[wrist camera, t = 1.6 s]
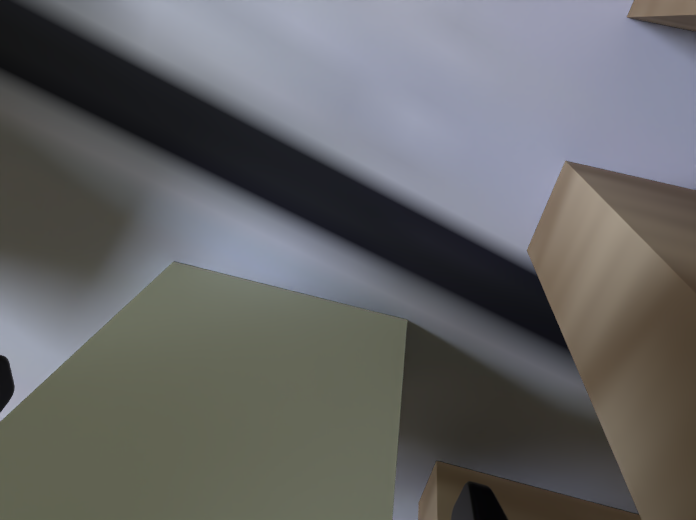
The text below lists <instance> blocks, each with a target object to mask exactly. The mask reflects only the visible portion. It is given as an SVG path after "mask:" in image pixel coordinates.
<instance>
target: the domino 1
mask: <svg viewBox="0 0 696 520" xmlns="http://www.w3.org/2000/svg"><path fill="white" fill-rule="evenodd" d="M406 332H407V320H406V319H402V318H398V317H394V316H390V315H386V314H382V313H378V312H374V311H370V310H366V309H362V308H358V307H354V306H350V305H346V304H342V303H338V302H334V301H330V300H326V299H322V298H318V297H314V296H310V295H306V294H302V293H298V292H294V291H290V290H286V289H282V288H278V287H273V286H269V285H265V284H261V283H257V282H253V281H249V280H245V279H241V278H237V277H233V276H229V275H225V274H221V273H217V272H213V271H209V270H205V269H201V268H197V267H193V266H189V265H185V264H181V263H177V262H173V263H171V264H170V265H169V266H168V267H167V268H166V269H165V270H164V271H163V272H162V273H161V274H160V275H158V276H157V277H156V278H155V279H154V280H153V281H152V282H151V283H150V284H149V285H148V286H147V287H145V288H144V289H143V290H142V291H141V292H140V293H139V294H138V295H137V296H136V297H135V298H134V299H132V300H131V301H130V302H129V303H128V304H127V305H126V306H125V307H124V308H123V309H122V310H121V311H120V312H118V313H117V314H116V315H115V316H114V317H113V318H112V319H111V320H110V321H109V322H108V323H107V324H105V325H104V326H103V327H102V328H101V329H100V330H99V331H98V332H97V333H96V334H95V335H94V336H92V337H91V338H90V339H89V340H88V341H87V342H86V343H85V344H84V345H83V346H82V347H81V348H80V349H78V350H77V351H76V352H75V353H74V354H73V355H72V356H71V357H70V358H69V359H68V360H67V361H65V362H64V363H63V364H62V365H61V366H60V367H59V368H58V369H57V370H56V371H55V372H54V373H52V374H51V375H50V376H49V377H48V378H47V379H46V380H45V381H44V382H43V383H42V384H41V385H40V386H38V387H37V388H36V389H35V390H34V391H33V392H32V393H31V394H30V395H29V396H28V397H27V398H25V399H24V400H23V401H22V402H21V403H20V404H19V405H18V406H17V407H16V408H15V409H14V410H12V411H11V412H10V413H9V414H8V415H7V416H6V417H5V418H4V419H3V420H2V421H1V422H0V520H392V515H393V502H394V489H395V476H396V463H397V450H398V437H399V424H400V411H401V397H402V384H403V371H404V358H405V345H406Z"/></svg>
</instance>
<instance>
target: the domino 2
mask: <svg viewBox="0 0 696 520" xmlns="http://www.w3.org/2000/svg"><path fill="white" fill-rule="evenodd" d="M527 252H528V254H529V256H530V259H531V261H532V263H533V266H534V268H535V270H536V273H537V275H538V278H539V280H540V282H541V285H542V287H543V289H544V292H545V294H546V296H547V299H548V301H549V303H550V306H551V308H552V310H553V313H554V315H555V317H556V320H557V322H558V325H559V327H560V329H561V332H562V334H563V336H564V339H565V341H566V343H567V346H568V348H569V350H570V353H571V355H572V357H573V360H574V362H575V364H576V367H577V369H578V371H579V374H580V376H581V379H582V381H583V383H584V386H585V388H586V390H587V393H588V395H589V397H590V400H591V402H592V404H593V407H594V409H595V411H596V414H597V416H598V418H599V421H600V423H601V426H602V428H603V430H604V433H605V435H606V437H607V440H608V442H609V444H610V447H611V449H612V451H613V454H614V456H615V458H616V461H617V463H618V465H619V468H620V470H621V473H622V475H623V477H624V480H625V482H626V484H627V487H628V489H629V491H630V494H631V496H632V498H633V501H634V503H635V505H636V508H637V510H638V512H639V515H640V517H641V520H696V190H692V189H687V188H683V187H679V186H674V185H670V184H665V183H661V182H657V181H652V180H648V179H643V178H639V177H635V176H630V175H626V174H621V173H617V172H613V171H608V170H604V169H599V168H595V167H590V166H586V165H582V164H577V163H573V162H568V161H565V163H564V165H563V167H562V170H561V172H560V174H559V177H558V179H557V181H556V184H555V186H554V188H553V191H552V193H551V195H550V198H549V200H548V202H547V205H546V207H545V209H544V212H543V214H542V216H541V219H540V221H539V223H538V226H537V228H536V230H535V233H534V235H533V237H532V240H531V242H530V244H529V247H528V249H527Z"/></svg>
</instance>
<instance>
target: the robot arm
mask: <svg viewBox="0 0 696 520" xmlns="http://www.w3.org/2000/svg"><path fill="white" fill-rule="evenodd" d="M14 388H15V387H14V381H13V377H12V373H11V368H10V364H9V361H8V359H7V358H6V357H5V356H2V355H0V412H1V411H2V410H3V408H4V407H5V406H6V404H7V403H8V402H9V400H10V399H11V397H12V395H13V393H14ZM451 520H508V518H507V516H506V514H505V513H504V511H503V509H502V507H501V505H500V504H499V502H498V500H497V498H496V496H495V494H494V493H493V491H492V490H491V488H490V487H488V486H487V485H484V484H480V483H476V482H472V481H468V482H466V483H465V485H464V487H463V489H462V491H461V493H460V495H459V497H458V499H457V501H456V503H455V505H454V507H453V510H452V515H451Z"/></svg>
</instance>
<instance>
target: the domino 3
mask: <svg viewBox="0 0 696 520" xmlns="http://www.w3.org/2000/svg"><path fill="white" fill-rule="evenodd" d="M468 481H472V482H476V483H480V484H484V485H487V486H488V487H490V488H491V490H492V491H493V493H494V494H495V496H496V498H497V500H498V502H499V504H500V505H501V507H502V509H503V511H504V513H505V514H506V516H507V518H508V520H641V517H640V515H638V514H634V513H630V512H626V511H623V510H619V509H615V508H611V507H608V506H604V505H600V504H596V503H593V502H589V501H585V500H581V499H578V498H574V497H570V496H566V495H563V494H559V493H555V492H551V491H548V490H544V489H540V488H536V487H533V486H529V485H525V484H521V483H518V482H514V481H510V480H506V479H503V478H499V477H495V476H491V475H488V474H484V473H480V472H476V471H473V470H469V469H465V468H461V467H458V466H454V465H450V464H446V463H443V462H439V461H436V463H435V466H434V468H433V470H432V473H431V475H430V477H429V480H428V482H427V484H426V487H425V489H424V491H423V494H422V496H421V498H420V501H419V510H418V520H451V515H452V510H453V507H454V505H455V503H456V501H457V499H458V497H459V495H460V493H461V491H462V489H463V487H464V485H465V483H466V482H468Z"/></svg>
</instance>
